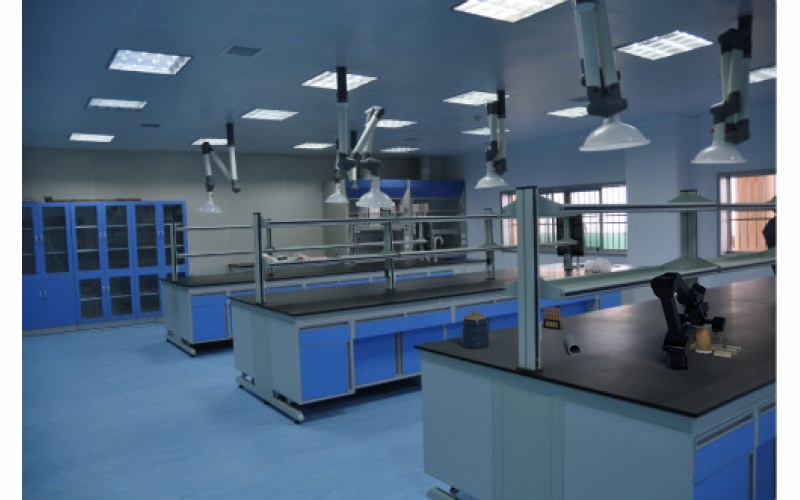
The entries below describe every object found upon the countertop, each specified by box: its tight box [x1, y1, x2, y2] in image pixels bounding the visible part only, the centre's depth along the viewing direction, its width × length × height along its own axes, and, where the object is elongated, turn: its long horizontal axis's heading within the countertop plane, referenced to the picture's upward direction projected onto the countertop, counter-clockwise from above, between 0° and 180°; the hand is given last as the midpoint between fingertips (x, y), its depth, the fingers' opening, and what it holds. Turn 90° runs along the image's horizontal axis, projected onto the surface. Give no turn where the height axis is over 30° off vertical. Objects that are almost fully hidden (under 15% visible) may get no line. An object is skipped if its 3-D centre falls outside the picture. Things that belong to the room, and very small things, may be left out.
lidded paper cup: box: [695, 324, 713, 355], centre depth 228 cm, size 6×6×12 cm
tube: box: [564, 333, 582, 356], centre depth 245 cm, size 5×5×25 cm
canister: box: [461, 309, 490, 350], centre depth 259 cm, size 13×13×18 cm
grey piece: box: [676, 333, 742, 358], centre depth 230 cm, size 14×22×6 cm, turn 42°
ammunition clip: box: [542, 305, 563, 331], centre depth 289 cm, size 11×2×12 cm, turn 41°
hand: (704, 333), depth 229 cm, fingers open, 9 cm apart
